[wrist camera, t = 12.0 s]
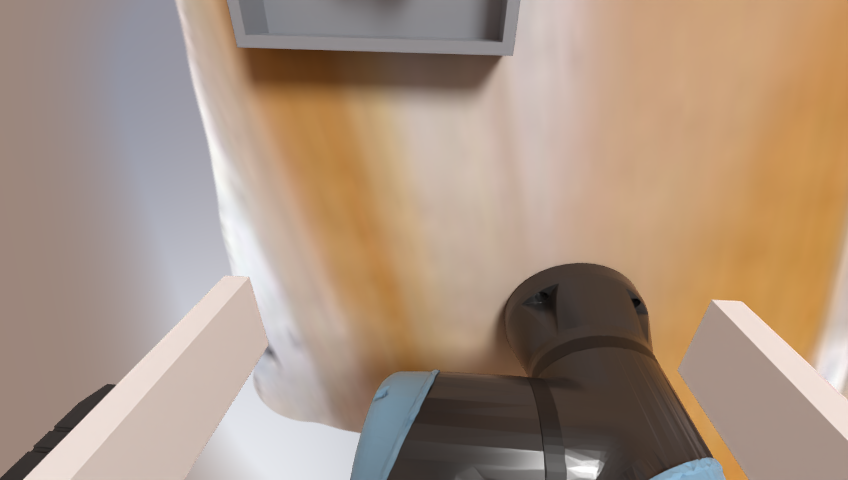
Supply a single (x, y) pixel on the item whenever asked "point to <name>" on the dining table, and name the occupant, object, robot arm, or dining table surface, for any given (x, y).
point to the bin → (378, 25)
